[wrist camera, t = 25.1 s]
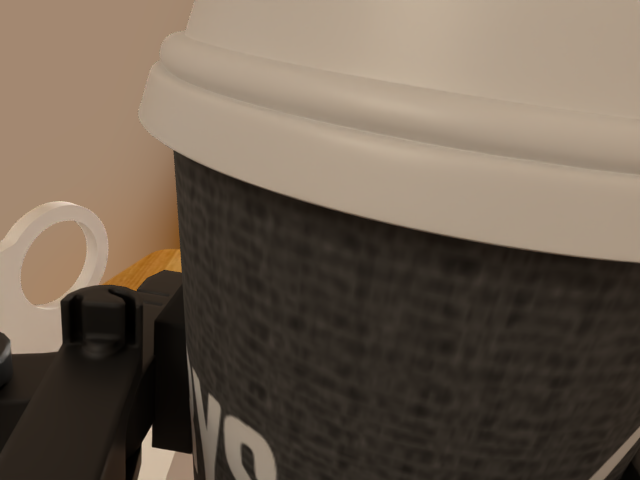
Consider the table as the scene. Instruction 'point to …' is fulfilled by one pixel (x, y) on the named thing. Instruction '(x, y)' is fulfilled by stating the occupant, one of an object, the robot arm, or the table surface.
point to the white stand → (45, 320)
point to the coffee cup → (407, 236)
